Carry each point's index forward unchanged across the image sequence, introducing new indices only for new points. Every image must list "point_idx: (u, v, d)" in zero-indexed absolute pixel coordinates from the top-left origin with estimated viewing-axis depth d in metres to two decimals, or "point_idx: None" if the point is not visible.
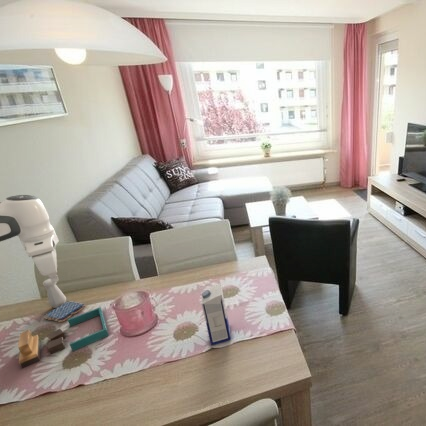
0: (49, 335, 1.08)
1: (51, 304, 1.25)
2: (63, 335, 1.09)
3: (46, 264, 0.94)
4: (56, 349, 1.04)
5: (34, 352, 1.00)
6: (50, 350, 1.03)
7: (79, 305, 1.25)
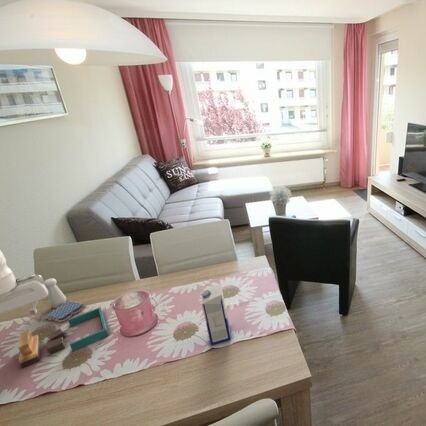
0: (49, 335, 1.08)
1: (51, 304, 1.25)
2: (63, 335, 1.09)
3: None
4: (56, 349, 1.04)
5: (34, 352, 1.00)
6: (50, 350, 1.03)
7: (79, 305, 1.25)
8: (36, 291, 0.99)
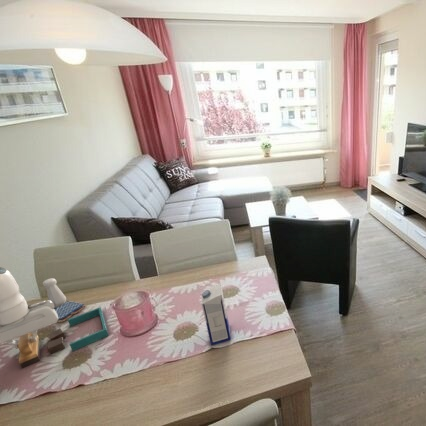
0: (49, 335, 1.08)
1: None
2: (63, 335, 1.09)
3: None
4: (56, 349, 1.04)
5: (34, 352, 1.00)
6: (50, 350, 1.03)
7: (79, 305, 1.25)
8: (46, 317, 1.02)
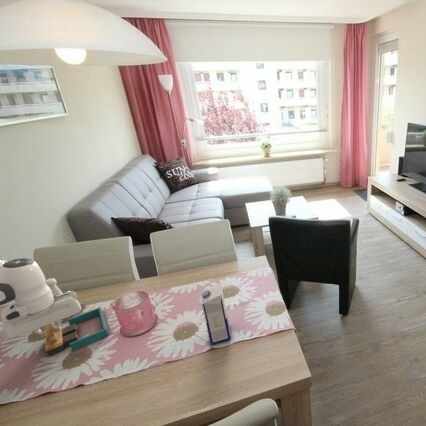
0: (63, 329, 1.11)
1: None
2: None
3: None
4: None
5: (59, 341, 1.04)
6: (64, 344, 1.05)
7: None
8: (70, 307, 1.06)
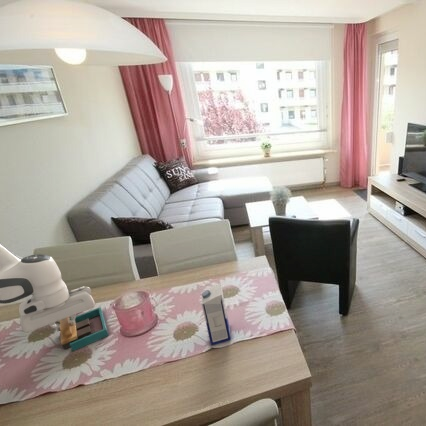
0: (77, 324, 1.13)
1: None
2: None
3: None
4: None
5: (74, 335, 1.06)
6: (79, 338, 1.07)
7: None
8: (85, 302, 1.09)
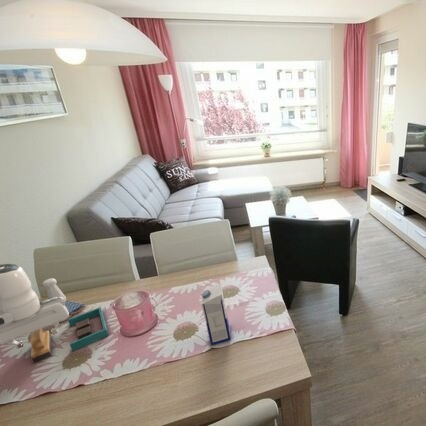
0: (77, 324, 1.13)
1: None
2: None
3: None
4: None
5: (46, 347, 1.02)
6: (79, 338, 1.07)
7: (79, 305, 1.25)
8: (58, 313, 1.04)
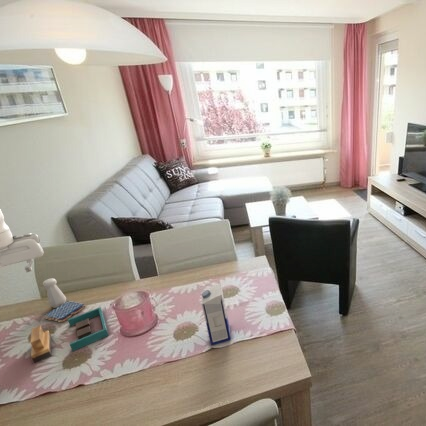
0: (77, 324, 1.13)
1: (51, 304, 1.25)
2: None
3: None
4: None
5: (46, 347, 1.02)
6: (79, 338, 1.07)
7: (79, 305, 1.25)
8: (31, 249, 1.03)
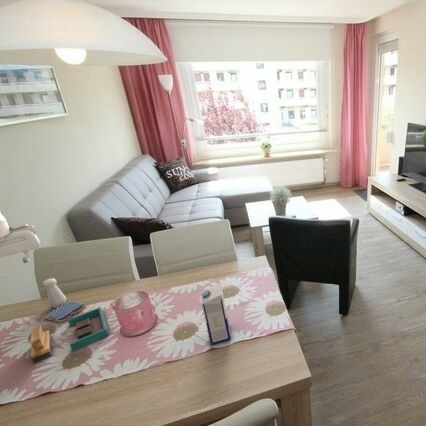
0: (77, 324, 1.13)
1: (51, 304, 1.25)
2: None
3: None
4: None
5: (46, 347, 1.02)
6: (79, 338, 1.07)
7: (79, 305, 1.25)
8: (28, 240, 1.04)
